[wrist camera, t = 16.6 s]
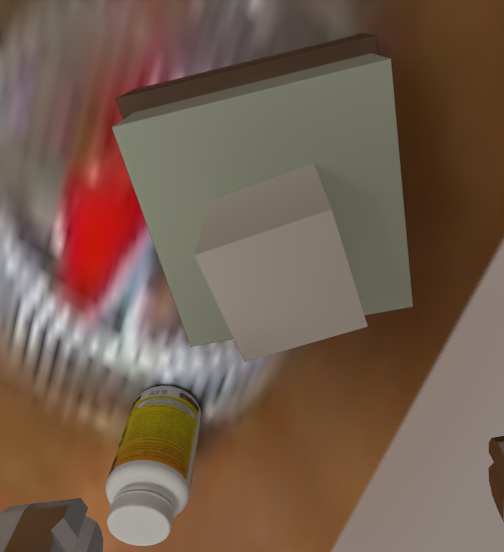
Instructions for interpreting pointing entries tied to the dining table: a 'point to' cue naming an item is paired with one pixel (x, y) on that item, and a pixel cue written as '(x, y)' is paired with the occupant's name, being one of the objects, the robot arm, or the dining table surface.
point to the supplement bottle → (153, 465)
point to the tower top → (275, 174)
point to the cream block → (278, 265)
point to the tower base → (246, 73)
